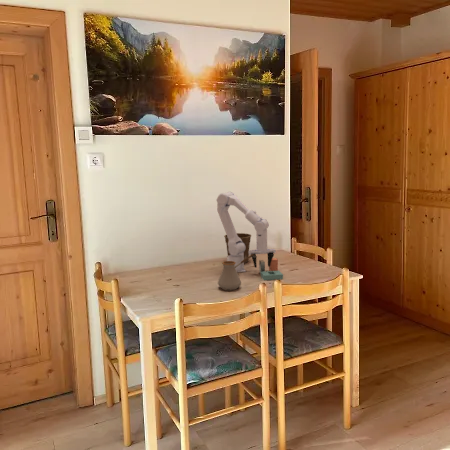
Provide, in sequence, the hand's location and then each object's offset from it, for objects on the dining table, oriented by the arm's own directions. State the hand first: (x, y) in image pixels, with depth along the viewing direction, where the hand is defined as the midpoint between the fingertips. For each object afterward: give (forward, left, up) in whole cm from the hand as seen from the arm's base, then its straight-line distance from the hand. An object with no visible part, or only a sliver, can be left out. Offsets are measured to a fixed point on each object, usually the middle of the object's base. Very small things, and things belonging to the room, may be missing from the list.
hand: (262, 266), depth 251 cm
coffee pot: (-17, -20, -4) cm, 27 cm away
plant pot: (-8, +29, -4) cm, 30 cm away
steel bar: (0, 0, -4) cm, 4 cm away
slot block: (+3, -9, -4) cm, 10 cm away
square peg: (+7, +3, -4) cm, 8 cm away
